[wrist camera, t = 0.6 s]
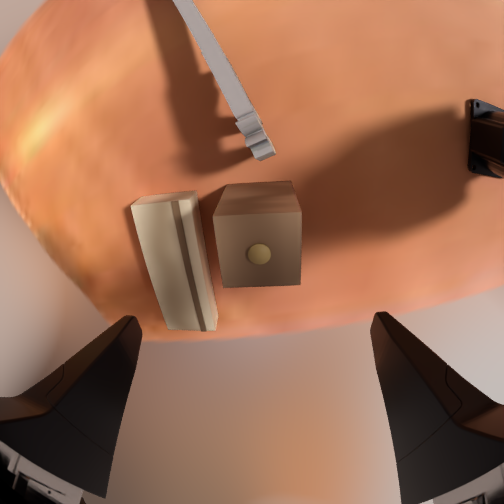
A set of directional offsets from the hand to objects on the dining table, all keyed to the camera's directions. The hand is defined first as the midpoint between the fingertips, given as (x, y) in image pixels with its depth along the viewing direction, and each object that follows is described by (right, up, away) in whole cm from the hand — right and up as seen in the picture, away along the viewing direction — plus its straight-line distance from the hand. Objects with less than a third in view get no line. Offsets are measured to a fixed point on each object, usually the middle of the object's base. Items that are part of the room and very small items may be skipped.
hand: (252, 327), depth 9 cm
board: (-6, +2, +13) cm, 14 cm away
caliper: (-3, +18, +4) cm, 19 cm away
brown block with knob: (+1, +6, +10) cm, 12 cm away
